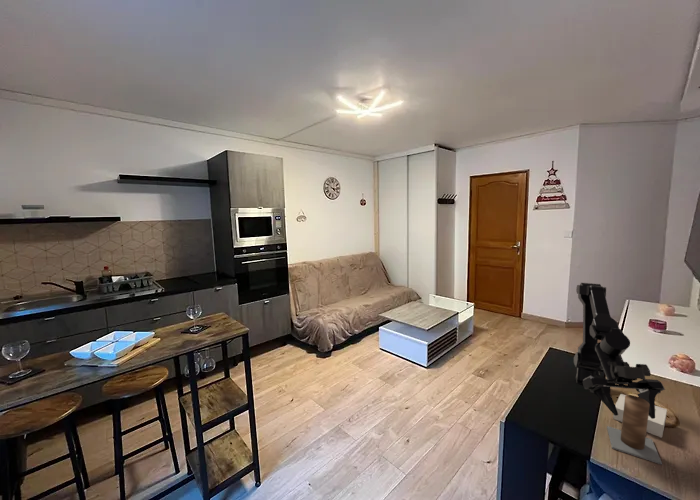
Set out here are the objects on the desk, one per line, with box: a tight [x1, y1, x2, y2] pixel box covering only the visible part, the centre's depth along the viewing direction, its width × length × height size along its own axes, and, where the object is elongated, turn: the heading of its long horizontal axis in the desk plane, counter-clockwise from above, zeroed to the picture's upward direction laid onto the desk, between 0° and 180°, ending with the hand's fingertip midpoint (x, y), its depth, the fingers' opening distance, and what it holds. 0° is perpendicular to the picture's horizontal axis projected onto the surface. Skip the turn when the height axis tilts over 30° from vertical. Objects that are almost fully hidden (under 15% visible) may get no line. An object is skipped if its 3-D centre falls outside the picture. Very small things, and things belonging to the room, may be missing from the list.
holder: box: [612, 393, 668, 439], centre depth 96 cm, size 11×11×4 cm
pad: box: [606, 425, 663, 466], centre depth 86 cm, size 10×10×1 cm
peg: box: [620, 394, 650, 450], centre depth 85 cm, size 5×5×13 cm
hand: (634, 416), depth 85 cm, fingers open, 9 cm apart
